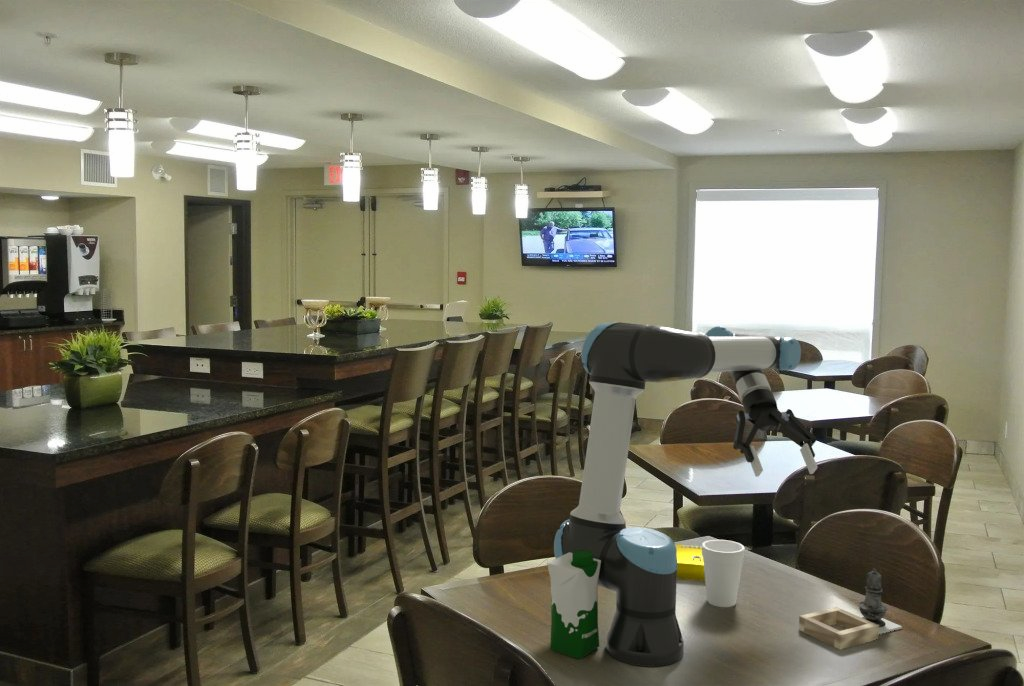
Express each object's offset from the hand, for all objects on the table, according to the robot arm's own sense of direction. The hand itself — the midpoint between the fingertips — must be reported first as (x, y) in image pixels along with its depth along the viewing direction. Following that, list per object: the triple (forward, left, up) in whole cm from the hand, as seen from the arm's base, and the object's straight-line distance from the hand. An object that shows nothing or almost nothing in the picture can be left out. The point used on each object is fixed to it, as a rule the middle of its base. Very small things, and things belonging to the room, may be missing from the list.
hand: (786, 472), depth 204 cm
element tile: (-5, +25, -30) cm, 40 cm away
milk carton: (-56, -1, -30) cm, 64 cm away
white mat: (+7, -20, -30) cm, 36 cm away
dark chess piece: (+7, -19, -29) cm, 36 cm away
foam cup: (-13, +5, -30) cm, 33 cm away
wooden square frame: (-4, -20, -30) cm, 36 cm away
